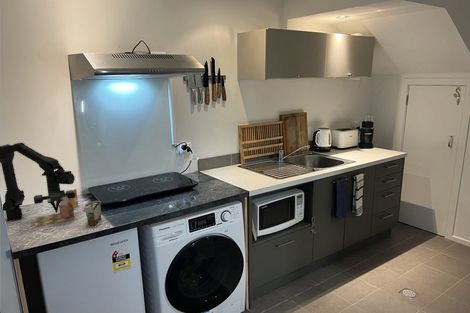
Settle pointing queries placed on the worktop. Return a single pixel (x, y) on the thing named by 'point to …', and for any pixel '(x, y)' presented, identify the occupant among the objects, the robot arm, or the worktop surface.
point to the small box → (72, 200)
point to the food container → (93, 212)
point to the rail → (54, 217)
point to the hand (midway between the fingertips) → (56, 212)
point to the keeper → (64, 210)
